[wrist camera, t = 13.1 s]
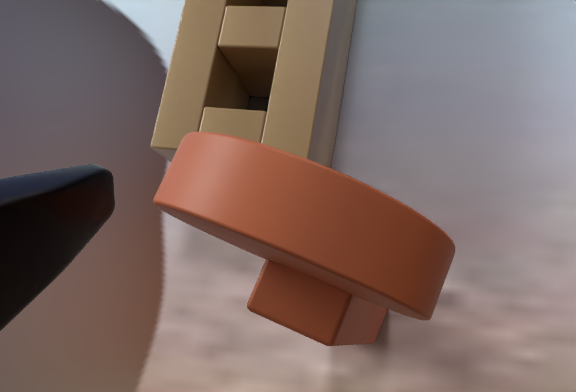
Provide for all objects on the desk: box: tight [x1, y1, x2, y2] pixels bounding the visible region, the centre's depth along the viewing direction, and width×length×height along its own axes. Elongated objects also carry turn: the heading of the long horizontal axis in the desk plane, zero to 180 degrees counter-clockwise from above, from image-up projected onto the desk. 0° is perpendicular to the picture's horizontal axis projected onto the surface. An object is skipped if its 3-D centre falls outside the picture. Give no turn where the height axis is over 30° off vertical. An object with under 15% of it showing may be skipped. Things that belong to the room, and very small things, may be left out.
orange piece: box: [153, 132, 455, 346], centre depth 12 cm, size 2×4×14 cm, turn 66°
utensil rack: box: [151, 0, 357, 168], centre depth 20 cm, size 5×13×4 cm, turn 170°
